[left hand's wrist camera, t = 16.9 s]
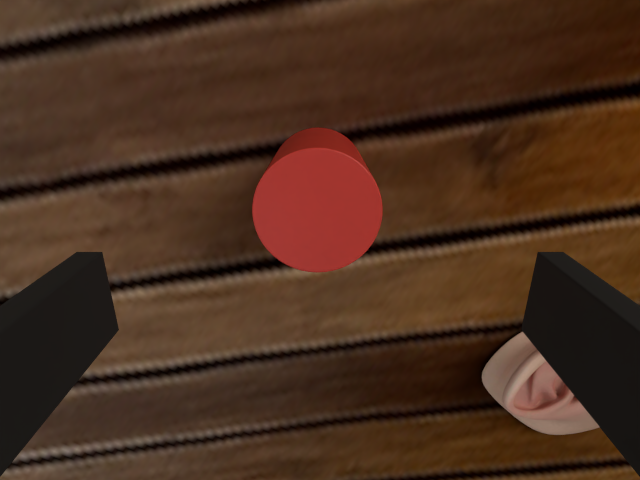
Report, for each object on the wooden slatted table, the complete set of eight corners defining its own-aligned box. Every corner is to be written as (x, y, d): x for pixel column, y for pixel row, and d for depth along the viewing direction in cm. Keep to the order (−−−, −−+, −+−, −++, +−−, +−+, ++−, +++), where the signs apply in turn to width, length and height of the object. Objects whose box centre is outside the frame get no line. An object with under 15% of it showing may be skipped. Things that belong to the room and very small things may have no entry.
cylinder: (279, 223, 29) (264, 279, 21) (264, 134, 27) (240, 157, 19) (367, 212, 29) (387, 265, 21) (359, 121, 27) (377, 139, 18)
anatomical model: (700, 433, 31) (561, 497, 34) (659, 396, 35) (537, 455, 37) (634, 314, 27) (483, 396, 30) (596, 287, 31) (465, 361, 34)
